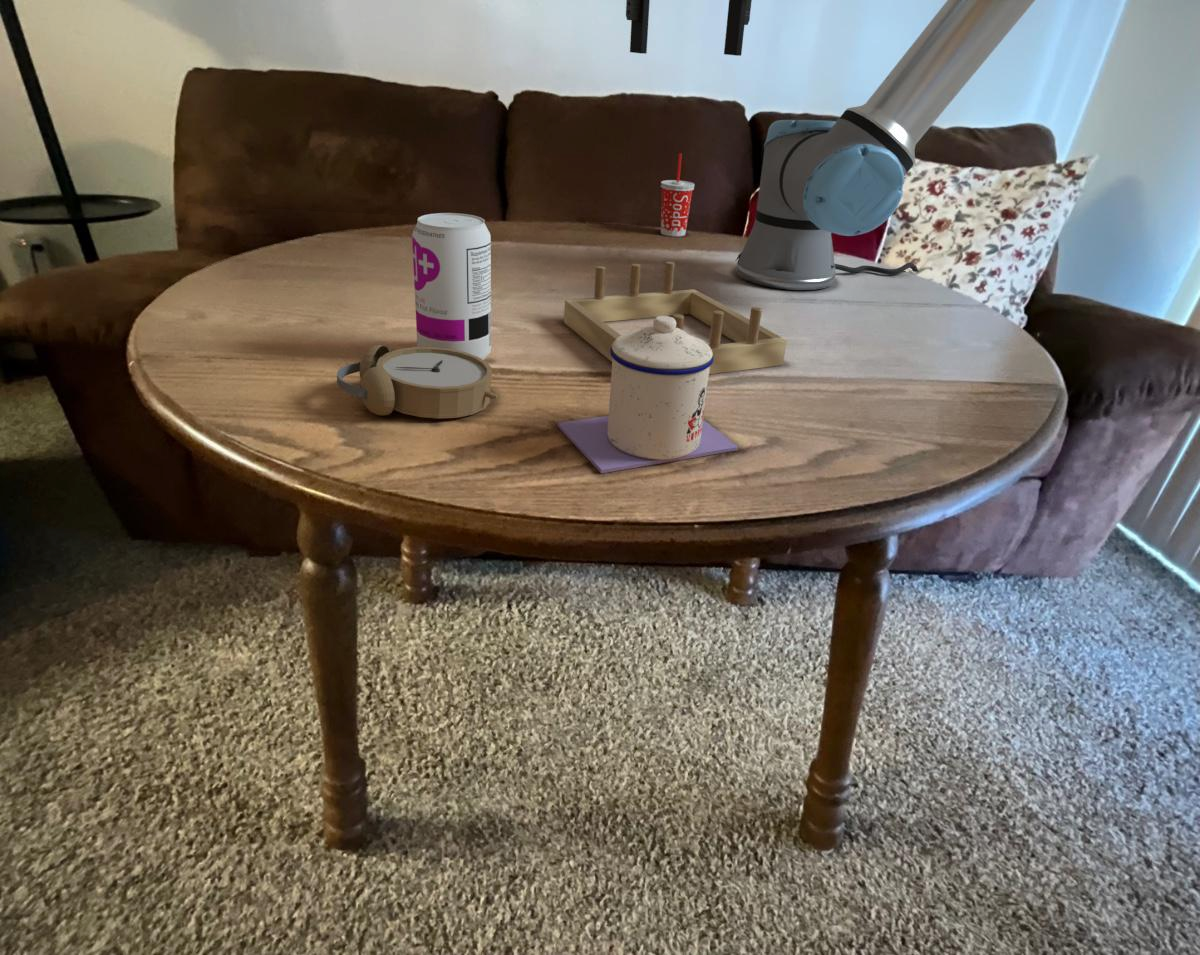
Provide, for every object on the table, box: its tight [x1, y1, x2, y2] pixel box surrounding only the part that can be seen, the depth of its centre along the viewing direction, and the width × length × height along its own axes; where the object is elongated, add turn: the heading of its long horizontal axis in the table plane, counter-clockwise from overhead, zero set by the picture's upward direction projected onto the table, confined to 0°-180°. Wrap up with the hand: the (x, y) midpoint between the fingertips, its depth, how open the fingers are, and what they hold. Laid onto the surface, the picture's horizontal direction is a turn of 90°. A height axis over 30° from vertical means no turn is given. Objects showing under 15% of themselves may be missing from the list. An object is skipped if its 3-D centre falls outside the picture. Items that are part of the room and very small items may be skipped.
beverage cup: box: [660, 153, 695, 237], centre depth 154 cm, size 6×6×14 cm
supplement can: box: [411, 212, 492, 361], centre depth 92 cm, size 8×8×15 cm
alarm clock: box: [336, 344, 498, 420], centre depth 83 cm, size 11×5×15 cm
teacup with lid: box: [608, 316, 714, 459], centre depth 77 cm, size 12×9×12 cm
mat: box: [557, 415, 739, 474], centre depth 79 cm, size 14×10×1 cm
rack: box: [563, 261, 788, 375], centre depth 102 cm, size 19×21×7 cm
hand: (686, 54), depth 103 cm, fingers open, 13 cm apart
